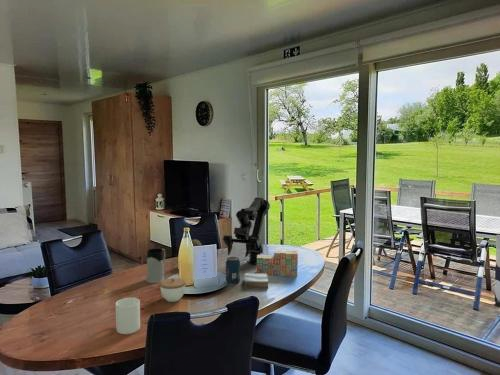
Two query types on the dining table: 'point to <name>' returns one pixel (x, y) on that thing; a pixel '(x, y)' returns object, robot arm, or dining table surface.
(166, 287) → the lidded jar
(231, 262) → the soda can
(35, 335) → the dining table surface
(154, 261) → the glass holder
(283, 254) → the stack of blocks
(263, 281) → the walnut stand
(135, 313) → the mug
